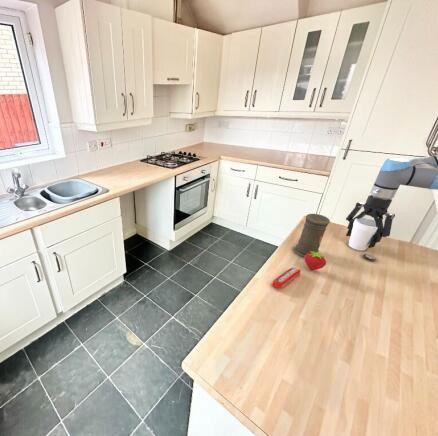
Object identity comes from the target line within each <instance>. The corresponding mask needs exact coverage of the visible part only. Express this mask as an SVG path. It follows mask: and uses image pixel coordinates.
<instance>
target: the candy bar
mask: <svg viewBox="0 0 438 436" xmlns="http://www.w3.org/2000/svg"><path fill="white" fill-rule="evenodd" d="M301 271H302V270H301V269H298V268H295V267H290V268H289V269H287V270H285V271H284V272H283V273H282V274H281V275H280V274H279V276H277V277H275V279H273V280H272V283H271V285H270V286H272V287H274V288H276V289H282V288H284V287H285V286H287V285H288V284H289V283H291V282H292V281H294V280H295V279H296V278H297V277H298V276H300V274H301Z"/></svg>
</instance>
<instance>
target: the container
mask: <svg viewBox="0 0 438 436" xmlns="http://www.w3.org/2000/svg"><path fill="white" fill-rule="evenodd" d="M330 222H331V220H330V219H329V218H328V217H327V216H325V215H322V214H318V213H308V214H306V215H305V222H304V225H303V228H302V231H301V234H300V237H299V239H298V241H297V244H296V245H295V247H294V252H295V253H296V254H297V255H298V256H300V257H302V258H304V256H305V255H306V254H307V253H311V252H315V253H317V252H318V253H319V252H320V250H319V249H320V247H321V243H322V240H323V237H324V234H325V232H326V231H327V227H328V226H329V224H330ZM310 251H311V252H310Z"/></svg>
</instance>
